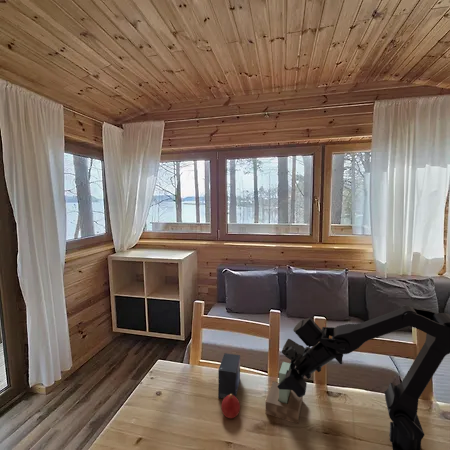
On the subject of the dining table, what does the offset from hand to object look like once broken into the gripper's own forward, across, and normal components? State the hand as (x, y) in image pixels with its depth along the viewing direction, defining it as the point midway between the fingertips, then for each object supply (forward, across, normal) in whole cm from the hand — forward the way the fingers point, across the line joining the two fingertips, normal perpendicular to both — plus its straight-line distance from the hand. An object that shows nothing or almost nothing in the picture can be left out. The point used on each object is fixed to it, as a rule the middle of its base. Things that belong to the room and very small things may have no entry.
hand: (280, 381), depth 86 cm
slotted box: (+6, 0, +8) cm, 10 cm away
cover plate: (+3, 0, +5) cm, 6 cm away
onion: (+16, +10, -3) cm, 19 cm away
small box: (+20, -2, -6) cm, 21 cm away
